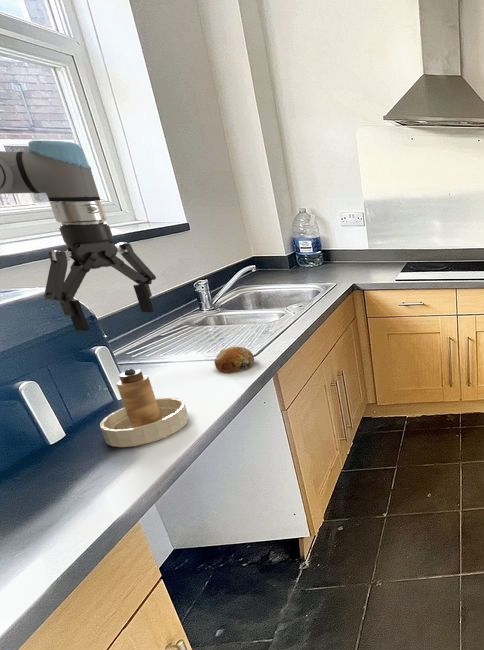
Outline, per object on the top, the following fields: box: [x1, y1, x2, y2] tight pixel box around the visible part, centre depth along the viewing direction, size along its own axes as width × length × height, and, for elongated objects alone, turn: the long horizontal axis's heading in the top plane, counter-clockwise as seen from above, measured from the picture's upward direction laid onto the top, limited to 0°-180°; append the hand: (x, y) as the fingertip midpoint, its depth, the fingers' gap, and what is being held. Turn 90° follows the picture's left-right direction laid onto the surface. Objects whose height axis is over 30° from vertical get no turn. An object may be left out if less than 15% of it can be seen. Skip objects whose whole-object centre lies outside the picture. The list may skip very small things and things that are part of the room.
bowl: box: [99, 397, 190, 448], centre depth 92 cm, size 14×14×4 cm
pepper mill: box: [116, 368, 162, 428], centre depth 90 cm, size 5×5×14 cm
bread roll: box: [213, 345, 255, 374], centre depth 125 cm, size 10×10×8 cm
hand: (117, 320), depth 93 cm, fingers open, 13 cm apart
